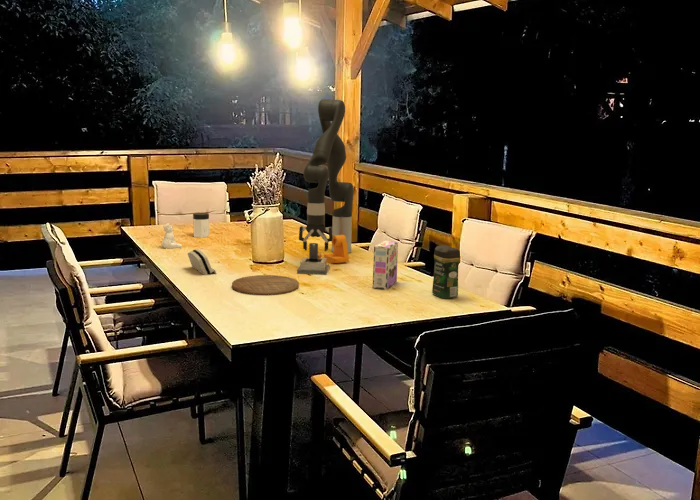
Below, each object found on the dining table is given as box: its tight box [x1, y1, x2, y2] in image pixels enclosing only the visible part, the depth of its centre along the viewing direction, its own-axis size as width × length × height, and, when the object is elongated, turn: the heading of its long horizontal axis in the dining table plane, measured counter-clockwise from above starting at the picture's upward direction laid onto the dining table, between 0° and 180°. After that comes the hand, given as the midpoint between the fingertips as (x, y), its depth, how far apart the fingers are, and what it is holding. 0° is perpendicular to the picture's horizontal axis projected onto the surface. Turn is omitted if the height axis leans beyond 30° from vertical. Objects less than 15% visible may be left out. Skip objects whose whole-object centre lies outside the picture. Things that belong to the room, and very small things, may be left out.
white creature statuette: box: [161, 222, 182, 250], centre depth 323 cm, size 10×9×12 cm
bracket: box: [323, 235, 350, 264], centre depth 301 cm, size 11×7×12 cm, turn 29°
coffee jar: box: [431, 244, 461, 300], centre depth 246 cm, size 10×8×19 cm
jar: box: [192, 212, 210, 238], centre depth 355 cm, size 9×8×12 cm
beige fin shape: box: [187, 248, 217, 276], centre depth 278 cm, size 17×5×10 cm, turn 30°
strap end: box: [299, 251, 328, 270], centre depth 286 cm, size 17×10×4 cm, turn 177°
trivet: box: [231, 274, 300, 296], centre depth 255 cm, size 25×25×2 cm
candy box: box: [372, 240, 399, 290], centre depth 260 cm, size 14×6×16 cm, turn 160°
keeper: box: [296, 242, 330, 275], centre depth 282 cm, size 12×12×12 cm
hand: (315, 250), depth 290 cm, fingers open, 8 cm apart
